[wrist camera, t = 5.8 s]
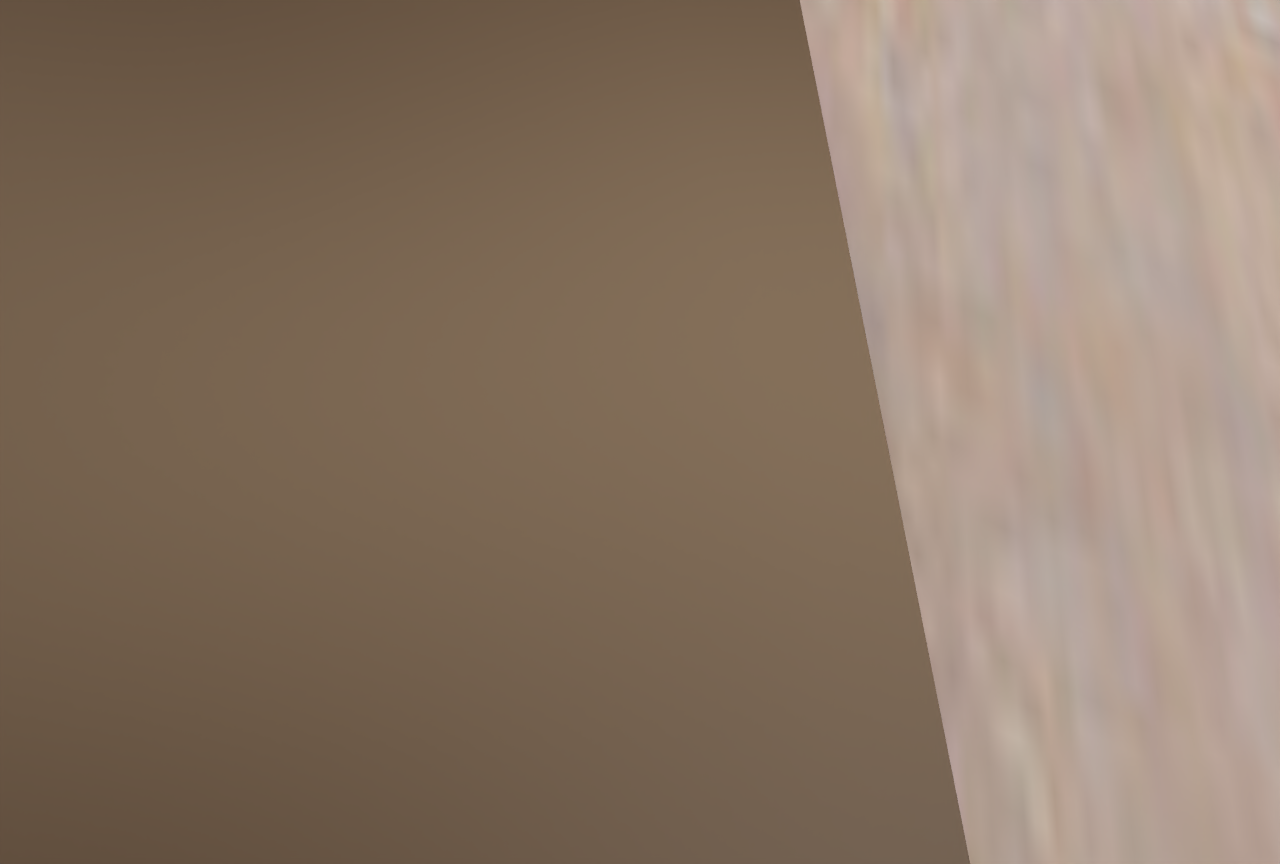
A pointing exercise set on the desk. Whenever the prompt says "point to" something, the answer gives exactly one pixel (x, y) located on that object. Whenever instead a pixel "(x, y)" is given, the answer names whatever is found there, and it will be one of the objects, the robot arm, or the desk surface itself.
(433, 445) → the brown wooden block
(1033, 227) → the desk surface
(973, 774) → the desk surface
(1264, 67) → the desk surface
